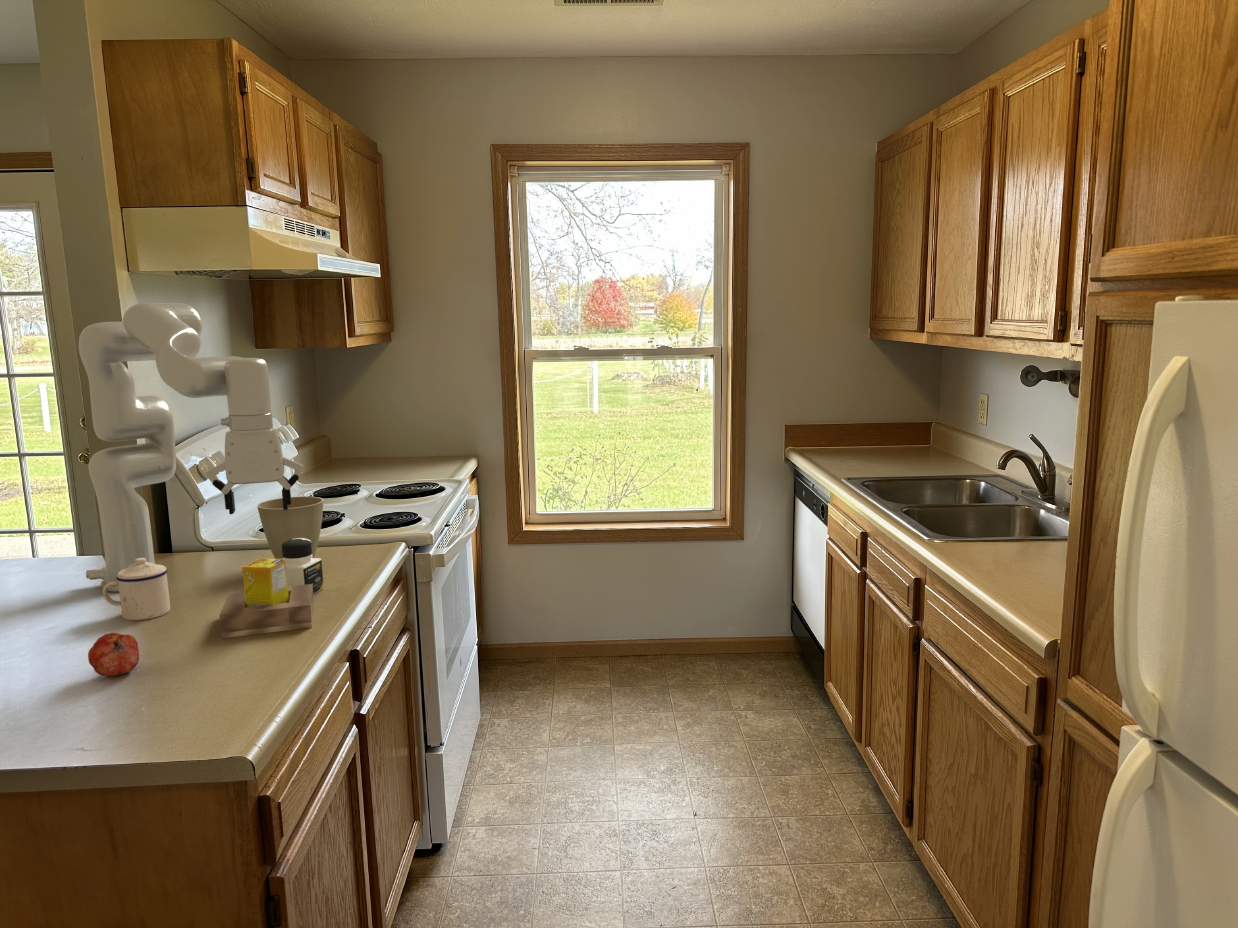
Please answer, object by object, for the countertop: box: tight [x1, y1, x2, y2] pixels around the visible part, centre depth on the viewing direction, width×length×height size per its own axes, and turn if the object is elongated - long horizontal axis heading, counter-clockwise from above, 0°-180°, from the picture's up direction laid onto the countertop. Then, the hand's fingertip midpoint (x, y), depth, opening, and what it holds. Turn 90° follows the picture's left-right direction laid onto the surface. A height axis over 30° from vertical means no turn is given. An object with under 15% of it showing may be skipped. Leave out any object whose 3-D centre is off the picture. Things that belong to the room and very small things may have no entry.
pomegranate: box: [87, 632, 140, 678], centre depth 141 cm, size 7×7×10 cm
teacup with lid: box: [102, 558, 171, 621], centre depth 170 cm, size 12×9×12 cm
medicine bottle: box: [282, 538, 325, 596], centre depth 181 cm, size 7×7×12 cm
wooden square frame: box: [219, 584, 315, 639], centre depth 165 cm, size 16×14×4 cm
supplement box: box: [241, 558, 289, 607], centre depth 164 cm, size 6×6×11 cm
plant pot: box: [256, 495, 324, 559], centre depth 201 cm, size 15×15×16 cm
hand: (259, 510), depth 162 cm, fingers open, 9 cm apart
